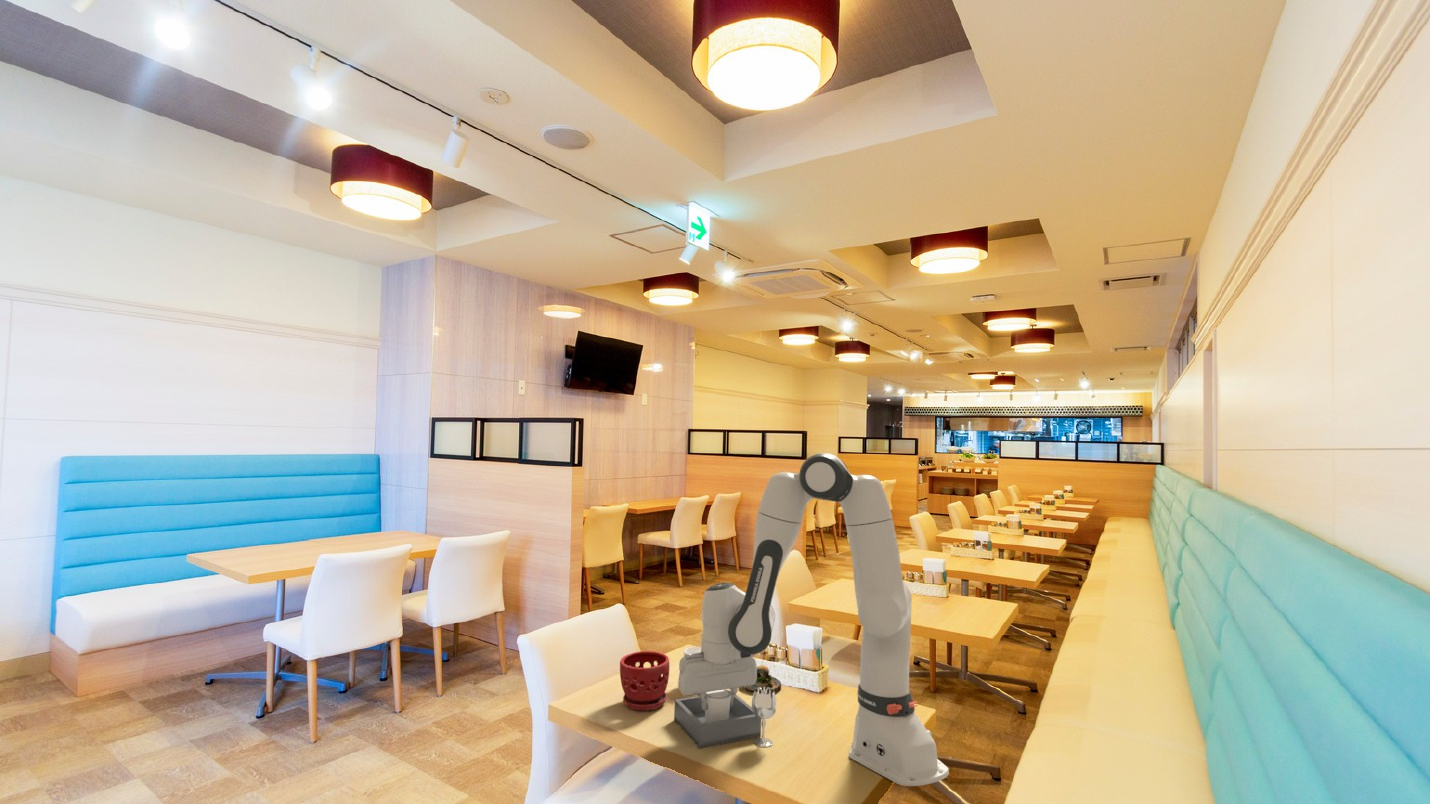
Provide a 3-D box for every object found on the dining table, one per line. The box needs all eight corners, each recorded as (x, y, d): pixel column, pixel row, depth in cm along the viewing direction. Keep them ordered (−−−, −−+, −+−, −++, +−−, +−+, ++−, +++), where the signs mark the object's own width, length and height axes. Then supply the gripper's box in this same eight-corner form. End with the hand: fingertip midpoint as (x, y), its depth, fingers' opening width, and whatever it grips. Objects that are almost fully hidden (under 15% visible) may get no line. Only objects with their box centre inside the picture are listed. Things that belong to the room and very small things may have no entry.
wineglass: (768, 750, 149) (769, 697, 149) (746, 744, 152) (747, 691, 152) (779, 741, 154) (780, 689, 154) (758, 734, 157) (759, 684, 157)
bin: (760, 736, 156) (761, 715, 156) (699, 748, 149) (700, 726, 149) (730, 710, 170) (731, 690, 170) (674, 719, 163) (674, 699, 164)
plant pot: (632, 691, 181) (634, 647, 182) (676, 699, 176) (677, 654, 177) (609, 709, 169) (611, 662, 169) (655, 718, 164) (656, 670, 165)
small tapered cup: (728, 729, 156) (729, 699, 156) (700, 726, 157) (701, 697, 157) (732, 717, 163) (733, 688, 163) (705, 714, 164) (706, 686, 164)
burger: (731, 689, 185) (732, 662, 185) (753, 677, 195) (753, 651, 195) (768, 699, 178) (768, 672, 179) (788, 686, 188) (789, 660, 188)
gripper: (684, 659, 153) (683, 719, 153) (760, 649, 162) (759, 705, 161) (674, 651, 159) (673, 708, 158) (748, 641, 168) (747, 696, 167)
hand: (717, 707), depth 160 cm, fingers closed on small tapered cup, 5 cm apart
